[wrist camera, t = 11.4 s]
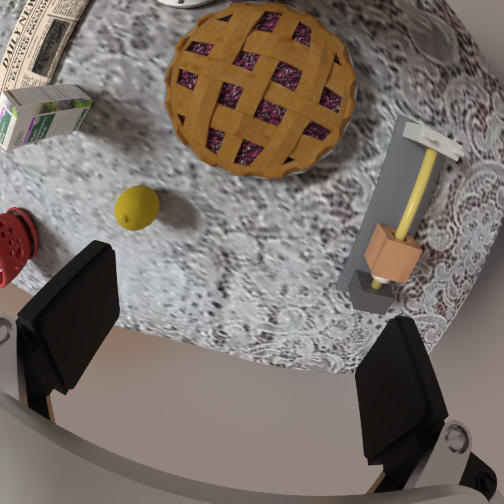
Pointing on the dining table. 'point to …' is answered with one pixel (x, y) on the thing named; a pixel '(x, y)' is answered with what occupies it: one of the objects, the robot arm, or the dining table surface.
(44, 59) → the newspaper
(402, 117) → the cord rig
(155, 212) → the lemon
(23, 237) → the plant pot
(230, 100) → the pie
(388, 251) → the sleeve
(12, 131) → the syrup box
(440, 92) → the dining table surface
